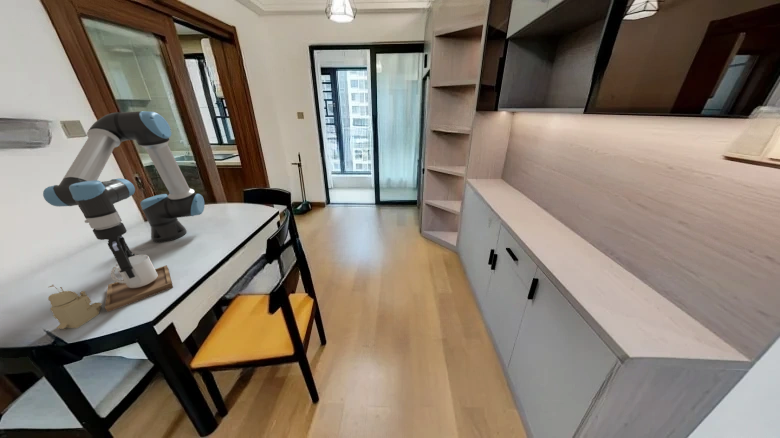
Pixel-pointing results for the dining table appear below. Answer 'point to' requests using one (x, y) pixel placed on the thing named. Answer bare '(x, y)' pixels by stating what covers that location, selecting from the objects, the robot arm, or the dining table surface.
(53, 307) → the robot
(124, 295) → the tray
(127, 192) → the robot arm
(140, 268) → the mug
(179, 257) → the dining table surface
